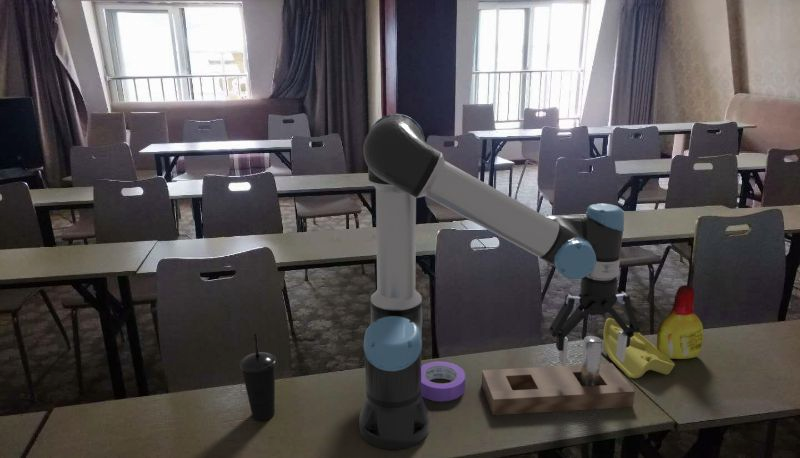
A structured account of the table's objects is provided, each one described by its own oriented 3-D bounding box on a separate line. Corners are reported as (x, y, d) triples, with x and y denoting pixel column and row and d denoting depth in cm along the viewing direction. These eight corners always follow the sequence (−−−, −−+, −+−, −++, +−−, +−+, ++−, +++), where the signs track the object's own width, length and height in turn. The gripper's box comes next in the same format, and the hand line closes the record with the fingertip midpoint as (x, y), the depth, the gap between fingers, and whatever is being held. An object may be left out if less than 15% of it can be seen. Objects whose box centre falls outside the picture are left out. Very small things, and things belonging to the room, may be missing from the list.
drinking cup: (243, 409, 130) (234, 330, 124) (277, 401, 132) (270, 323, 126) (248, 428, 123) (239, 346, 117) (283, 420, 126) (276, 339, 120)
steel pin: (582, 399, 132) (587, 345, 127) (576, 389, 135) (581, 336, 131) (599, 398, 132) (605, 344, 128) (592, 388, 136) (598, 335, 131)
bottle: (660, 364, 145) (670, 292, 139) (648, 351, 151) (657, 282, 145) (705, 361, 146) (717, 289, 140) (691, 349, 152) (702, 279, 146)
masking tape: (475, 389, 136) (475, 375, 135) (439, 408, 129) (439, 394, 128) (441, 369, 145) (441, 356, 144) (406, 386, 138) (406, 372, 137)
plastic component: (679, 367, 140) (650, 357, 136) (663, 391, 142) (633, 382, 138) (630, 325, 158) (603, 315, 154) (616, 347, 159) (589, 338, 156)
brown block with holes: (492, 415, 126) (493, 399, 125) (481, 384, 138) (482, 370, 137) (633, 406, 128) (635, 391, 127) (610, 377, 140) (612, 363, 139)
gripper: (549, 283, 120) (543, 372, 127) (663, 278, 122) (652, 366, 128) (538, 270, 127) (533, 354, 134) (646, 266, 129) (636, 349, 135)
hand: (591, 360), depth 131 cm, fingers open, 13 cm apart
